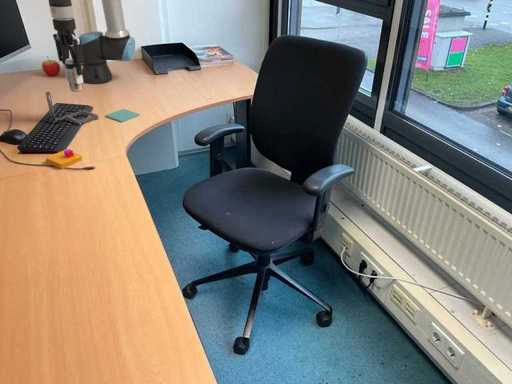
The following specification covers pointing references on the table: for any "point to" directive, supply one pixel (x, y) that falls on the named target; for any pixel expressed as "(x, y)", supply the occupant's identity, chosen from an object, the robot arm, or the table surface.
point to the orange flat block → (63, 159)
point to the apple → (51, 67)
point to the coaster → (122, 115)
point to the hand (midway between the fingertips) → (75, 81)
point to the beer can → (72, 76)
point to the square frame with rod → (51, 109)
